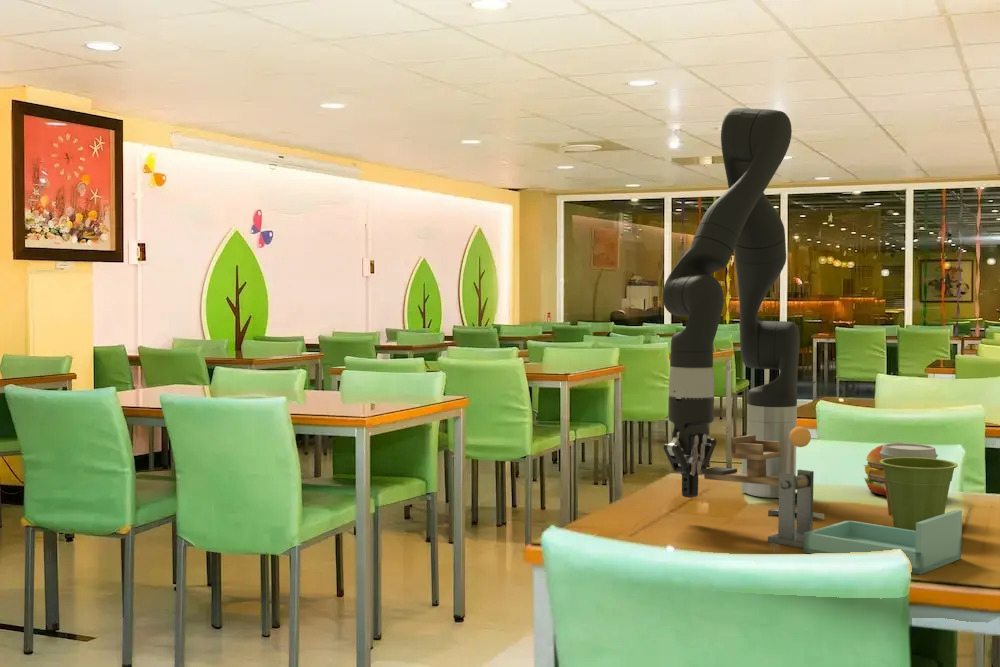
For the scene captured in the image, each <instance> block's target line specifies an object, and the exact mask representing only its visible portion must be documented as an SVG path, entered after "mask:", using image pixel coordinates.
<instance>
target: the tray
mask: <svg viewBox="0 0 1000 667" xmlns="http://www.w3.org/2000/svg"><path fill="white" fill-rule="evenodd" d="M962 520H963V510H960V509H955V510H951V511H948V512H945V514H942V515H939V516H936V517H933V518H930V519H927V520H923V521H920V522H917V523H916V531H914V530H907V529H901V528H895V527H894V526H888V525H887V526H886V525H881V524H874V523H868V522H862V521H854V520H851V519H850V520H849V519H847V520H844V521H840V522H837V523H833V524H830V525H826V526H823V527H820V528H815V529H813V530H812V531H809V532H805V533H804V548H803V554H806V553H850V552H871V551H883V550H892V549H901V550H902V551H903V552H904V553H905V554H906V556H907V557H908V558H909V560H910V562H911V565H912V573H911V574H914V575H921V576H922V575H923V574H927V573H929V572H931V571H933V570H936V569H939V568H942V567H944V566H946V565H949V564H951V563H953V562H957V561H958V560H960V559H961V560H962V532H963V530H962V527H963V523H962V522H963V521H962Z"/></svg>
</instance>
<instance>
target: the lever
mask: <svg viewBox="0 0 1000 667" xmlns="http://www.w3.org/2000/svg"><path fill="white" fill-rule="evenodd" d="M730 447H731V448H730V450H731V451H730V452H731V458H732V459H737V460H738V459H740V460H742V459H747V474H742V472H741V473H740V472H738V468H736V467H735V468H734V467H723V466H722V467H721V466H720V467H719V466H715V467H709V468H708V467H707V468H706V469H702V470H701V473H700V474H703V475H704V478H703V479H704V480H712V481H713V480H714V481H724V482H733V483H742V482H743V483H754V484H765V485H775V486H779V477H777V476H766V459H770V458H775V457H781V449H780V441H764V440H756V435H747V434H746V435H741V436H735V437H731V438H730ZM808 484H809V480H808V478H807V477H806V476H805V475H799V476H797V475H796V484H795V491H797V489H801V488H805V487H807V486H808Z"/></svg>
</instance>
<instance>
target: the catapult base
mask: <svg viewBox="0 0 1000 667" xmlns="http://www.w3.org/2000/svg"><path fill="white" fill-rule="evenodd" d="M814 473H815V472H814V470H807V469H796V475H791V474H784V473H780V474H779V498H778V510H779V517H778V521H777V522H778V526H777V527H778V529H777V531H778V532H777V533H775V534H772V535H769V536H768V535H767V542H768V543H771V544H772V543H773V544H778V545H783V546H787V547H788V546H789V547H793V548H794V547H795V548H801V549H804V533H805V532H809V531H812V530H814V529H813V523H814V522H813V520H814V519H813V512H814V478H815V476H814ZM799 475H805V476H806V477H807V478H808V480H809V484H808V486H807V487H805V488H801V489H796V490H795V484H796V476H799ZM795 492H797V504H795ZM795 510H797V518H795ZM795 523H796V524H795ZM795 526H796V527H795Z"/></svg>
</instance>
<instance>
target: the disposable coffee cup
mask: <svg viewBox="0 0 1000 667" xmlns="http://www.w3.org/2000/svg"><path fill="white" fill-rule="evenodd" d="M889 443H890V442H889ZM889 443H884V444H882V445H883V446H882V450H881V451H880V454H881V457H882V459H885V458H894V457H920V458H932V459H937V458H938V457H939V454H937V451H936V447H935V446H933V445H928V444H921V443H920V444H919V443H904V442H891V443H890V444H889ZM884 478H885V474H884ZM885 486H886V495H887V496H886V495H885V496H886V501H887V502H886V503H887V513H889V515H890V514H892V511H891V504H890V498H889V492H888V485H887V479H886V478H885Z"/></svg>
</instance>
